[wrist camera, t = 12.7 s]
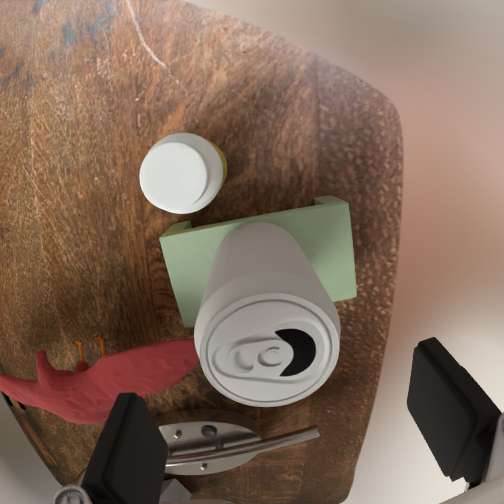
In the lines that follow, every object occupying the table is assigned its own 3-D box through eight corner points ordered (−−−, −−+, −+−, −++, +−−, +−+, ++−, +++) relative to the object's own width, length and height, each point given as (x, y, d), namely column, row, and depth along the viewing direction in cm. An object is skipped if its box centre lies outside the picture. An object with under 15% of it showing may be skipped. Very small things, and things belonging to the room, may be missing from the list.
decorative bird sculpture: (229, 323, 36) (176, 276, 22) (247, 404, 31) (201, 411, 18) (44, 362, 37) (-37, 338, 24) (51, 425, 33) (-34, 418, 20)
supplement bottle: (156, 152, 26) (114, 150, 17) (215, 128, 26) (200, 113, 16) (178, 209, 28) (147, 235, 18) (236, 187, 27) (233, 203, 18)
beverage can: (304, 296, 25) (348, 401, 13) (221, 307, 25) (207, 420, 13) (297, 214, 23) (350, 272, 11) (207, 226, 23) (172, 296, 11)
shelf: (331, 194, 28) (348, 202, 23) (340, 275, 30) (357, 297, 25) (172, 223, 28) (158, 237, 23) (192, 302, 30) (184, 328, 25)
